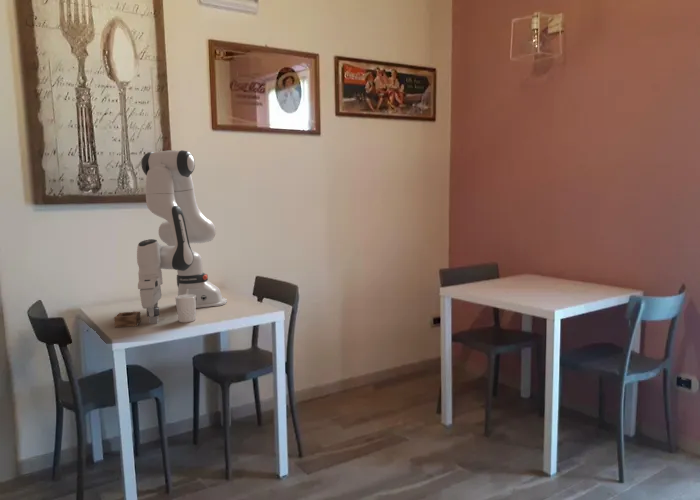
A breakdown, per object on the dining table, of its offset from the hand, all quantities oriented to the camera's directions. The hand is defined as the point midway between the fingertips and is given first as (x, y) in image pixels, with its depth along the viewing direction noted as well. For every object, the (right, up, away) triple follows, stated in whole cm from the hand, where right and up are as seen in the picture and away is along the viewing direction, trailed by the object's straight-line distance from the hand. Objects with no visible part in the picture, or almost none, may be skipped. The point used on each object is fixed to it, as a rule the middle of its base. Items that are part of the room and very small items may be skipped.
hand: (153, 314), depth 228 cm
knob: (0, -3, 0) cm, 3 cm away
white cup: (+13, -3, +2) cm, 13 cm away
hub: (-10, -4, -1) cm, 11 cm away
